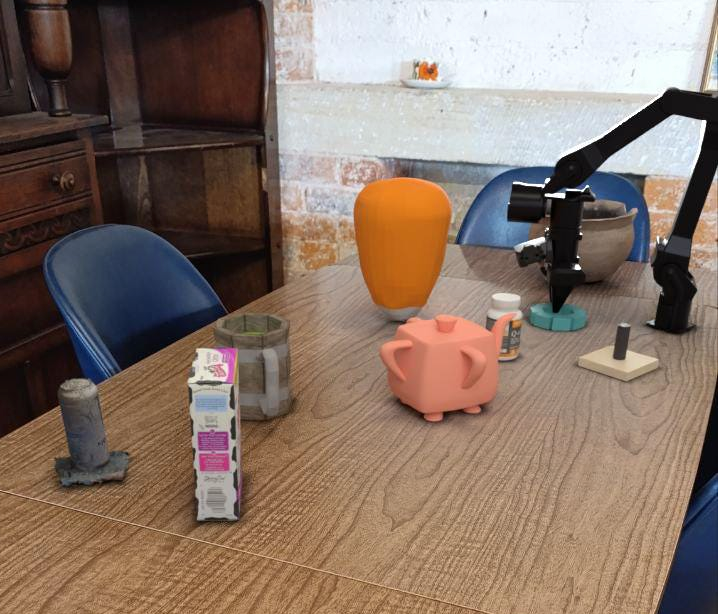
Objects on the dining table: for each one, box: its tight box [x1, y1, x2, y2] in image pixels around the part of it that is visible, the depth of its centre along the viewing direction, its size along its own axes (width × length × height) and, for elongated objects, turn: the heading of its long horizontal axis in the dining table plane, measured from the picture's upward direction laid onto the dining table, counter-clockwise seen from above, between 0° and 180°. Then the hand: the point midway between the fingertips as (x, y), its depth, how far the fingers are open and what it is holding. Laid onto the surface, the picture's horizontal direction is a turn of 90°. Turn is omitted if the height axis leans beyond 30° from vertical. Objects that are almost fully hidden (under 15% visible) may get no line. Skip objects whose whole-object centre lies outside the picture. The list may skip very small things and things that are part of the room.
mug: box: [212, 312, 293, 421], centre depth 120 cm, size 16×11×12 cm
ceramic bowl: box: [527, 199, 639, 283], centre depth 185 cm, size 22×22×15 cm
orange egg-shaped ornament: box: [352, 177, 453, 322], centre depth 154 cm, size 17×17×25 cm
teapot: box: [378, 313, 517, 422], centre depth 123 cm, size 17×16×13 cm
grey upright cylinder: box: [53, 377, 131, 488], centre depth 103 cm, size 9×8×12 cm
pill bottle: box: [485, 292, 524, 362], centre depth 142 cm, size 6×6×10 cm
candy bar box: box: [187, 347, 243, 522], centre depth 97 cm, size 11×5×16 cm, turn 5°
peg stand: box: [577, 322, 660, 382], centre depth 139 cm, size 9×9×7 cm
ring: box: [528, 302, 588, 332], centre depth 160 cm, size 10×10×2 cm
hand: (554, 310), depth 164 cm, fingers closed on ring, 2 cm apart
